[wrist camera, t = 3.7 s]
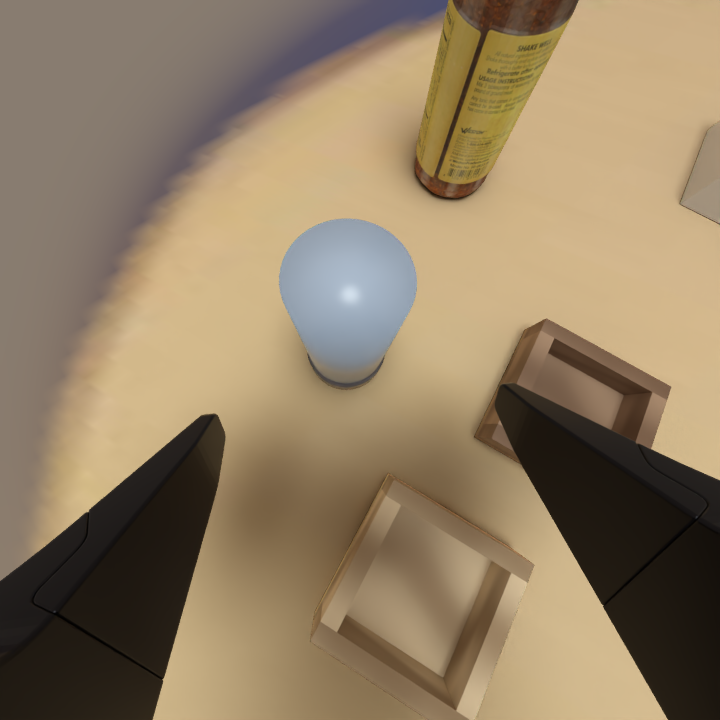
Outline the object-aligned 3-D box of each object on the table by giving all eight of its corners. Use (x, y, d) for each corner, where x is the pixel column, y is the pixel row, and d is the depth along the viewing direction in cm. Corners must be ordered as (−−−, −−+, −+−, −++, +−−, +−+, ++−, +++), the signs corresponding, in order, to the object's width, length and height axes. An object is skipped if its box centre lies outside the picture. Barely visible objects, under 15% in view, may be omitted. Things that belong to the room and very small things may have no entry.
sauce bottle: (497, 167, 25) (996, -676, 6) (458, 216, 24) (937, -653, 5) (433, 127, 26) (701, -760, 7) (393, 173, 25) (576, -758, 5)
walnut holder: (594, 507, 20) (628, 518, 17) (474, 436, 20) (491, 438, 18) (635, 390, 22) (671, 386, 19) (525, 329, 22) (546, 318, 20)
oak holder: (448, 700, 17) (465, 744, 15) (314, 612, 18) (310, 641, 15) (510, 547, 19) (534, 565, 16) (388, 473, 19) (394, 479, 17)
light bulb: (359, 403, 20) (376, 377, 10) (296, 365, 21) (244, 300, 10) (394, 342, 21) (445, 258, 11) (334, 307, 22) (325, 192, 11)
